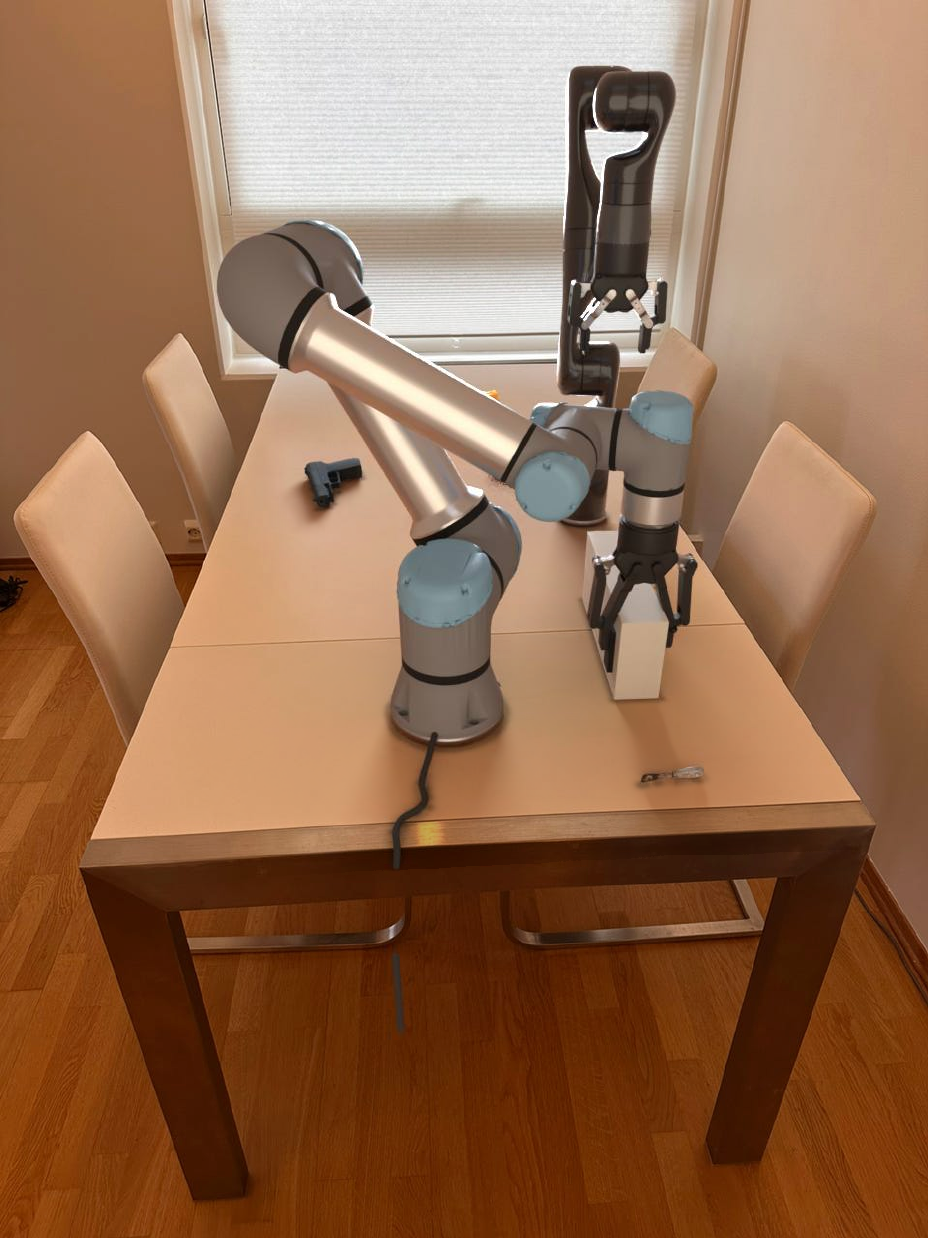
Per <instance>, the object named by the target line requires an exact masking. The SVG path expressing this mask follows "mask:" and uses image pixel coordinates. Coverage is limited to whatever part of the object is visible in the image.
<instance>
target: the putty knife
mask: <svg viewBox="0 0 928 1238" xmlns="http://www.w3.org/2000/svg"><path fill="white" fill-rule="evenodd" d="M704 772H705V771H704V768H702V767H701V766H697V765H695V766H688V767H683V768H679V769H675V770H673V771H671V772H653V773H652V772H651V773H650V772H649V773H644V774H642V776H641V779H640V783H642V784H645V783H648V782H653V781H659V780H665V779H668V778H673V779H674V778H675V779H693V778H694V779H695V778H700V777H702V776H703V775H704Z"/></svg>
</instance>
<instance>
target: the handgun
mask: <svg viewBox="0 0 928 1238" xmlns="http://www.w3.org/2000/svg"><path fill="white" fill-rule="evenodd" d="M303 471H304V474H305V475H306V477H307V479H308V482H309V485H310V488H311V491H312V493H313V497H314V498H313V499H311V500H312V502H314V503H315V504H316V506H318V508H321V509H323V508H324V509H325V508H329V507H330V505H331V503H332V504H334V502H335V500H334V499H335V498H334V492H333V490H336V489H340V488H341V483H343V482H347V481H351V480H355V479H360V478H361V479H362V478H363V468H362V463H361V460H360V458H359V457H350V458H346V459H345V458H344V459H341V460H336V461H332V462H329V463H326V462H324V461H321V460H319V461H311V462H308V463H306V464H305V467H304V468H303Z"/></svg>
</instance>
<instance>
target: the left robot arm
mask: <svg viewBox="0 0 928 1238" xmlns="http://www.w3.org/2000/svg"><path fill="white" fill-rule="evenodd" d="M363 283H364V264H363V261H362V258H361V255H360V252H359V250H358V249H357V247H356V245H355V244H354V243H353V241H352V240H351V238H349V236H348V235H347V234H345V233H344V232H343V231H342V230H341V229H339V228H337V227H336V226H334V225H333V224H330V223H327V222H325V221H321V220H315V219H314V220H313V219H309V220H294V221H289V222H286V223H285V224H283V225H281V226H278V227H275V228H272V229H271V230H268V231H265V232H263V233H260V234H255V235H251V236H249V237H245V239H242V240H241V241H239V242H237V243H236V244H235V245H233V247H231V249H230V250H229V251H228V252H227V253H226V255H225V256H224V258H223V260H222V261H221V263H220V265H219V269H218V272H217V279H216V294H217V295H216V296H217V300H218V305H219V308H220V310H221V312H222V315H223V317H224V319H225V321H226V322H227V323H228V325H229V326H230V327H231V329H232V330H233V332H234V333H235V334H236V335H237V336H238V337H239V338H240V339H242V340H243V341H244V342H245V343H246V344H247V345H248V346H250V347H251V348H252V349H254V350H255V351H257V352H258V354H260V355H262V356H263V357H265V358H266V359H268V360H270V361H271V362H273V363H274V364H277V365H279V366H280V367H282V368H284V369H286V370H287V371H289V372H290V373H293V374H299V373H302V372H306V371H307V372H309V373H311V374H312V375H315V377H316V376H317V377H318V378H320V379H322V380H323V381H325V382H326V383H327V385H328V386H329V388H330V389H331V391H332V393H333V394H334V396H335V397H336V399H337V401H338V402H339V404H340V405H341V407H342V408H343V410H344V412H345V414H346V415H347V416H348V418H349V419H350V421H351V423H352V425H353V426H354V428H355V429H356V431H357V433H358V434H359V435H360V437H361V439H362V440H363V442H364V443H365V445H366V447H367V449H368V450H369V452H370V453H371V455H372V456H373V458H374V460H375V462H376V463H377V465H378V466H379V468H380V469H381V470H382V472H383V474H384V476H385V477H386V479H387V480H388V482H389V484H390V485H391V487H392V488H393V490H394V491H395V493H396V494H397V497H398V498H399V499H400V502H401V503H402V504H403V506H404V507H405V509H406V511H407V512H408V514H409V516H410V517H411V520H412V522H411V526H410V531H409V537H410V538H411V540H412V541H413V543H414V544H415V546H416V547H414V548H413V549H411V550H410V551H409V552H408V553H406V555H405V556H404V558H403V559H402V561H401V562H400V564H399V567H398V572H397V582H396V591H395V592H396V599H397V603H398V620H399V633H400V634H399V638H400V639H399V640H400V655H401V667H400V669H399V672H398V675H397V678H396V681H395V684H394V687H393V690H392V693H391V696H390V704H389V705H390V718H391V721H392V724H393V725H394V727H395V728H396V729H397V731H398V732H399V733H400V734H402V735H403V736H404V737H406V738H407V739H409V740H411V741H413V742H415V743H417V744H420V745H421V744H422V745H425V746H427V750H426V753H425V756H424V760H423V762H422V766H421V769H420V773H419V778H418V790H419V793H420V797H421V800H420V802H419V804H417V805H416V806H415V807H413V808H411V809H409V810H407V811H405V812H404V813H402V814H401V815H399V816H398V818H397V819H396V820H395V822H394V823H393V826H392V829H391V830H392V831H391V837H392V846H393V847H392V848H393V851H392V853H393V855H392V868H393V869H394V870H398V869H399V868H401V857H402V855H401V854H402V847H401V839H400V831H401V828H402V826H403V824H404V823H405V822H406V821H408V820H409V819H411V818H412V817H415V816H417V815H418V814H420V813H421V812H422V811H424V810H425V808H426V807H427V805H428V804H429V794H428V790H427V787H426V781H427V776H428V772H429V768H430V766H431V762H432V760H433V755H434V752H435V748H436V747H437V748H454V747H455V748H457V747H463V746H467V745H471V744H473V743H476V742H480V741H481V740H483V739H485V738H486V737H488V736H489V735H491V734H492V733H493V732H494V731H495V730H496V729H498V727H499V726H500V724H501V722H502V720H503V717H504V697H503V693H502V690H501V688H502V685H501V683H500V682H499V681H498V679H497V677H496V674H495V672H494V668H493V666H492V664H491V654H492V653H491V651H492V649H491V648H492V647H491V645H492V621H493V618H494V615H495V612H496V610H497V609H498V606H499V605H500V602H501V600H502V598H503V596H504V594H505V592H506V590H507V588H508V586H509V584H510V582H511V581H512V580H513V578H514V576H515V575H516V573H517V571H518V568H519V565H520V561H521V556H522V551H523V540H522V534H521V531H520V528H519V525H518V524H517V522H516V520H515V518H513V516H512V515H511V514H510V513H509V512H508V511H507V510H506V509H504V508H503V507H502V506H500V505H497V506H496V505H495V504H493V502H490V500H489V499H488V497H487V495H486V494H485V492H484V491H483V490H482V489H480V488H476V487H472V486H468V485H467V484H466V482H465V480H464V479H463V476H461V474H460V472H459V471H458V469H457V467H456V465H455V464H454V462H453V460H452V458H451V457H450V455H449V454H448V452H449V453H450V454H452V455H454V456H456V457H458V458H459V459H462V460H463V461H465V462H466V463H468V464H470V465H472V466H474V467H476V468H477V469H479V470H481V471H482V472H484V473H486V474H487V475H490V476H491V477H493V478H494V479H496V480H498V481H499V482H501V483H503V484H505V485H506V486H508V487H509V488H510V489H513V490H514V497H515V499H516V502H517V503H518V505H519V507H520V508H521V509H522V510H523V512H524V513H525V514H526V515H528V516H529V517H530V518H532V519H534V520H536V521H540V522H545V523H554V522H555V523H556V522H559V521H561V520H563V519H565V518H567V517H569V516H570V515H571V514H573V513H574V512H575V510H576V509H577V508H578V507H579V505H580V504H581V502H582V500H583V499H584V498H585V497H586V495H587V493H588V489H589V486H590V482H591V479H592V477H593V474H594V472H595V470H596V469H598V470H609V472H623V478H622V493H621V502H620V508H619V509H620V514H621V515H620V516H619V519H618V529H617V531H618V540H617V547H616V549H615V550H614V552H613V554H612V556H608V557H605V558H600V557H599V556H594V557H593V558H592V564H593V568H594V577H593V583H592V588H591V594H590V600H589V606H588V611H587V613H586V619H587V623H588V625H589V628H590V629H591V628H592V629H596V628H598V629H599V639H598V643H599V646H600V648H601V650H605V651H604V661H603V662H604V665H605V668H606V671H607V673H612V670H613V661H614V651H615V641H616V631H615V628H614V626H613V625H614V623H615V621H616V619H617V617H618V613H619V612H620V610H621V608H622V606H623V604H624V602H625V600H626V598H627V596H628V594H629V592H631V591H632V589H633V587H634V585H637V584H642V583H647V584H652V585H654V589H655V593H656V595H657V597H658V600H659V603H660V606H661V608H662V610H663V612H665V614H666V617H667V619H668V621H669V626H668V633H667V640H666V647H665V649H671V648H672V646H673V645H674V636H675V633H677V632H678V627H680V626H683V627H686V626H688V625H689V624H690V623H691V611H692V594H693V593H692V592H693V578H694V576H695V573H696V571H697V569H698V567H699V563H698V561H697V560H696V558H695V556H694V554H692V553H691V552H687V553H685V554H681V553H678V552H677V545H678V537H679V530H680V518H681V516H682V510H683V502H684V501H683V500H684V494H685V493H684V492H685V486H686V484H685V483H686V478H687V472H688V464H689V458H690V451H691V444H692V438H693V424H694V412H695V409H694V405H693V402H692V401H691V400H690V398H688V397H687V396H685V395H683V394H681V393H678V392H675V391H670V390H660V389H659V390H653V391H652V390H645V391H641V392H639V393H636V394H635V395H634V396H632V398H631V400H630V405H629V406H628V408H626V407H625V408H617V407H615V408H605V407H595V406H584V405H585V404H584V405H582V404H572V403H569V402H564V401H562V402H561V401H560V402H557V403H556V402H540V403H538V404H536V405H535V406H534V407H533V408H532V410H531V412H530V417H529V418H527V417H526V416H524V415H523V414H522V413H521V414H520V413H519V412H517V411H515V410H514V409H513V408H510V407H508V406H507V405H505V404H504V403H502V402H500V401H499V402H498V401H497V400H495V399H493V398H491V397H490V396H488V395H486V394H485V393H483V392H484V391H481V390H480V389H478V388H476V387H474V386H472V385H471V384H469V383H467V382H466V381H464V380H463V379H460V378H458V377H457V376H456V375H455V374H453V373H452V374H453V375H452V374H450V373H448V372H447V371H445V370H443V369H442V367H440V366H439V365H437V364H435V363H433V362H431V361H430V360H428V359H426V358H425V357H423V356H421V355H419V354H418V353H416V352H414V351H412V350H410V349H408V348H407V347H405V346H403V345H402V344H400V343H399V342H396V341H395V340H394V339H392V338H389V337H388V336H386V335H385V334H383V333H381V332H379V331H378V330H377V329H374V327H373V323H372V322H373V318H374V312H375V305H374V304H373V302H372V300H371V298H370V297H369V295H368V293H367V291H366V289H365V288H364V287H363V286H364V285H363ZM454 375H455V376H456V377H455V376H454ZM614 565H615V566H616V567H617V568H618V570H619V571H620V573H619V575H618V579H617V583H616V585H615V587H614V589H613V591H612V593H611V595H610V598H609V600H608V602H607V604H606V606H605V608H604V610H603V612H602V615H601V609H602V604H603V598H604V593H605V587H606V575H609V573H610V571H611V567H612V566H614ZM675 566H676V567H677V570H678V578H677V597H676V612H675V613H674V612H673V611H674V610H673V607H672V603H671V600H670V599H671V598H670V595H669V591H668V585H667V581H666V575H667V574H668V573H669V572H670V571H671V570H672V569H673V568H674V567H675ZM600 615H601V616H600ZM592 629H591V630H592ZM391 959H392V975H393V976H392V977H393V986H394V988H393V989H394V1000H395V1001H394V1002H395V1014H396V1027H397V1028H396V1030H397V1033H398V1034H402V1033H404V1032H405V1022H404V1021H405V1020H404V1006H403V1005H404V1004H403V991H402V977H401V964H400V953H397V952H391Z"/></svg>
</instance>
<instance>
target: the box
mask: <svg viewBox="0 0 928 1238" xmlns="http://www.w3.org/2000/svg"><path fill="white" fill-rule="evenodd" d="M617 540H618V530H589V531H586V544H585V545H586V546H585V558H584V570H583V571H584V574H583V584H582V597H581V601H582V604H583V607H584V610H585V613H586V614H587V611H588V606H589V600H590V594H591V588H592V583H593V577H594V568H593V564H592V558H593V557H594V556H599V557H600V558H605V557H608V556H612V554H613V552H614V550H615V549H616V547H617ZM619 573H620V571H619V570H618V568H617V567H616V566H615V565H614V566H612V567H611V571H610V573H609V575H606V587H605V593H604V598H603V604H602V609H601V615H602V612H603V610H604V608H605V606H606V604H607V602H608V600H609V598H610V595H611V593H612V591H613V589H614V587H615V585H616V583H617V579H618V575H619ZM601 615H600V616H601ZM613 626H614V628H615V631H616V641H615V651H614V661H613V670H612V673H607V671H606V668H605V665H604V662H603V661H604V651H605V650H601V648H600V646H599V643H598V639H599V629H598V628H596V629H592V628H590V629H591V631H592V635H593V638H594V641H595V644H596V648H597V651H598V654H599V657H600V660H601V663H602V667H603V670H604V673H605V676H606V679H607V683H608V685H609V688H610V692H611V694H612V698H613V700H615V701H616V700H617V701H618V700H619V701H620V700H621V701H622V700H645V699H646V700H647V699H659V698H660V690H661V683H662V677H663V676H662V675H663V669H664V661H665V655H666V648H665V647H666V640H667V633H668V626H669V621H668V619H667V617H666V614H665V612H663V610H662V608H661V606H660V603H659V600H658V596H657V592H656V590H655V587H654V586H653V584H647V583H642V584H637V585H634V587H633V589H632V591H631V592H629V594H628V596H627V598H626V600H625V602H624V604H623V606H622V608H621V610H620V612H619V613H618V617H617V619H616V621H615V623H614V625H613Z"/></svg>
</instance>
